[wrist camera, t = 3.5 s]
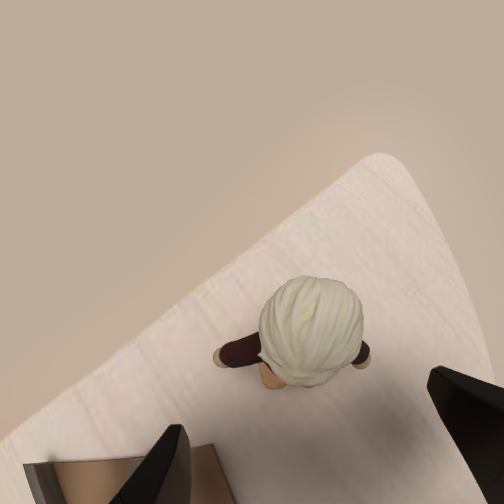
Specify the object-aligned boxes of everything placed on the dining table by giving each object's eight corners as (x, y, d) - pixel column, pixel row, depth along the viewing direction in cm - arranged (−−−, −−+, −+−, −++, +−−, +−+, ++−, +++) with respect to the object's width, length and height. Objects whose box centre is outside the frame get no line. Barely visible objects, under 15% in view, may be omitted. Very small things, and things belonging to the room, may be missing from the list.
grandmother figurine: (333, 330, 20) (412, 231, 9) (344, 383, 18) (452, 340, 7) (223, 350, 20) (172, 267, 8) (231, 404, 18) (183, 403, 7)
